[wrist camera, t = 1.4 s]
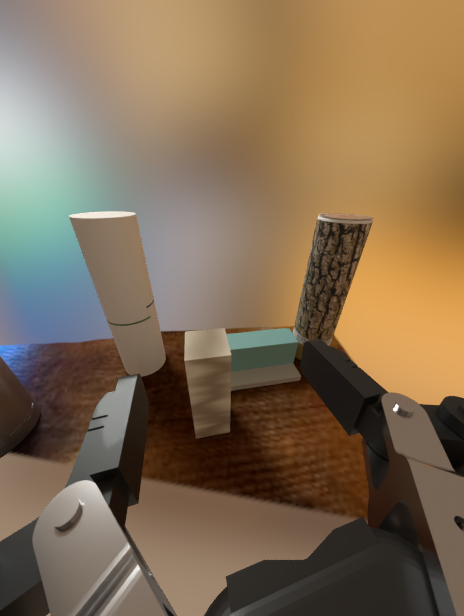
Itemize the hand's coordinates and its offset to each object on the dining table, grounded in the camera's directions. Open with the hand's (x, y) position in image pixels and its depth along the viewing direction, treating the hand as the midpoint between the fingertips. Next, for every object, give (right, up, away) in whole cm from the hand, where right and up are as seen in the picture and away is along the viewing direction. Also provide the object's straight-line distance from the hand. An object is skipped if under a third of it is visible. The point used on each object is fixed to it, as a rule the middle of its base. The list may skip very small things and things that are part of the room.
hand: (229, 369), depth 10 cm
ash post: (-3, -13, +19) cm, 23 cm away
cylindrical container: (-16, -7, +28) cm, 33 cm away
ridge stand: (+3, -7, +28) cm, 29 cm away
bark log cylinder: (+15, -6, +30) cm, 35 cm away
